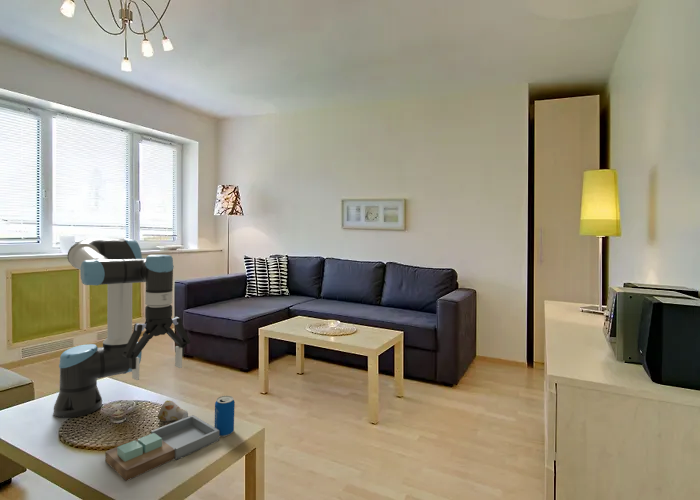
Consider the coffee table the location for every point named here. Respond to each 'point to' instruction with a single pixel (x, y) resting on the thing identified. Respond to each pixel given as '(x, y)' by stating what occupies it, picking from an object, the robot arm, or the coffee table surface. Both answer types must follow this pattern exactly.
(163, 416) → the mug
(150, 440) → the tile far
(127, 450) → the tile near
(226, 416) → the beverage can
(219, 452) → the coffee table surface
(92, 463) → the coffee table surface
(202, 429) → the tray
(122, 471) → the walnut board
